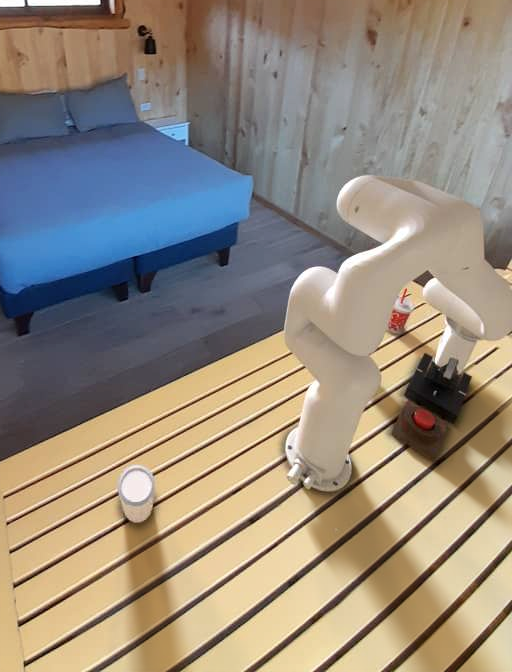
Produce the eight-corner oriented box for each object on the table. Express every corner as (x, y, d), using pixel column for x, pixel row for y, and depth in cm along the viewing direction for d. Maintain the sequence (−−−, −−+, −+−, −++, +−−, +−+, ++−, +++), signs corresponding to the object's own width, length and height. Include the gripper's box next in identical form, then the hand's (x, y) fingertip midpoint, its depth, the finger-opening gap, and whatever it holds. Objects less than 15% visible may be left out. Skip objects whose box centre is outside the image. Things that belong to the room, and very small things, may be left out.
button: (430, 433, 83) (432, 428, 83) (410, 421, 86) (413, 416, 85) (434, 421, 86) (437, 416, 85) (415, 410, 88) (418, 405, 87)
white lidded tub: (142, 535, 71) (141, 515, 68) (112, 511, 75) (109, 491, 71) (162, 498, 76) (162, 477, 73) (132, 477, 80) (131, 457, 77)
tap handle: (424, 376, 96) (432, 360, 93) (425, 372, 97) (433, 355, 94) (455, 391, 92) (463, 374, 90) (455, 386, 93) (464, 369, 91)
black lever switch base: (454, 424, 88) (458, 415, 87) (403, 395, 95) (406, 386, 93) (468, 385, 97) (472, 376, 95) (420, 360, 103) (424, 351, 102)
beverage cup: (376, 320, 116) (388, 282, 109) (395, 318, 116) (409, 280, 110) (389, 336, 110) (403, 298, 104) (410, 334, 111) (425, 295, 105)
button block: (433, 461, 81) (438, 451, 80) (390, 434, 87) (395, 424, 85) (446, 427, 88) (451, 417, 86) (405, 403, 93) (409, 393, 91)
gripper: (451, 295, 93) (428, 350, 102) (441, 335, 83) (416, 394, 91) (492, 309, 89) (464, 366, 97) (487, 354, 78) (456, 414, 87)
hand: (441, 379), depth 94 cm, fingers closed on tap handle
